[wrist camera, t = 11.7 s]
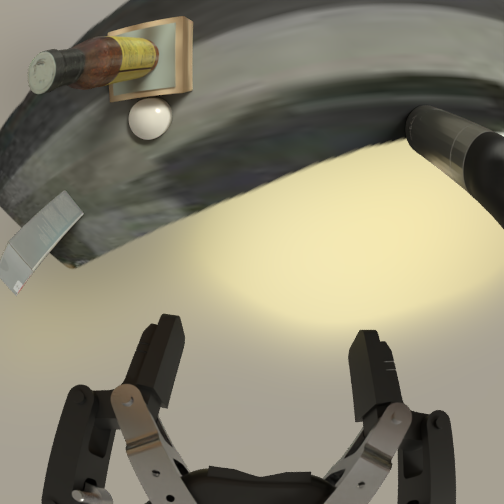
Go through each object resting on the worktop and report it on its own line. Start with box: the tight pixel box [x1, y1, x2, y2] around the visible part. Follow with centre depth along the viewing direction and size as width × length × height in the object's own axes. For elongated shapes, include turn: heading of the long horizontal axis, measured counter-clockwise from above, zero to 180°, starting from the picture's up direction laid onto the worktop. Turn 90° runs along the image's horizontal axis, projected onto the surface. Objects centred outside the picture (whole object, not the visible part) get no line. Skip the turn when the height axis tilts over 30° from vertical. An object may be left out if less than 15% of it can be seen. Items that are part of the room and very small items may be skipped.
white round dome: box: [129, 97, 172, 140], centre depth 38 cm, size 7×7×2 cm
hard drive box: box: [0, 190, 84, 295], centre depth 44 cm, size 16×8×20 cm, turn 122°
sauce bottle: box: [28, 36, 159, 94], centre depth 20 cm, size 6×6×20 cm
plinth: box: [108, 16, 193, 103], centre depth 30 cm, size 12×12×5 cm
